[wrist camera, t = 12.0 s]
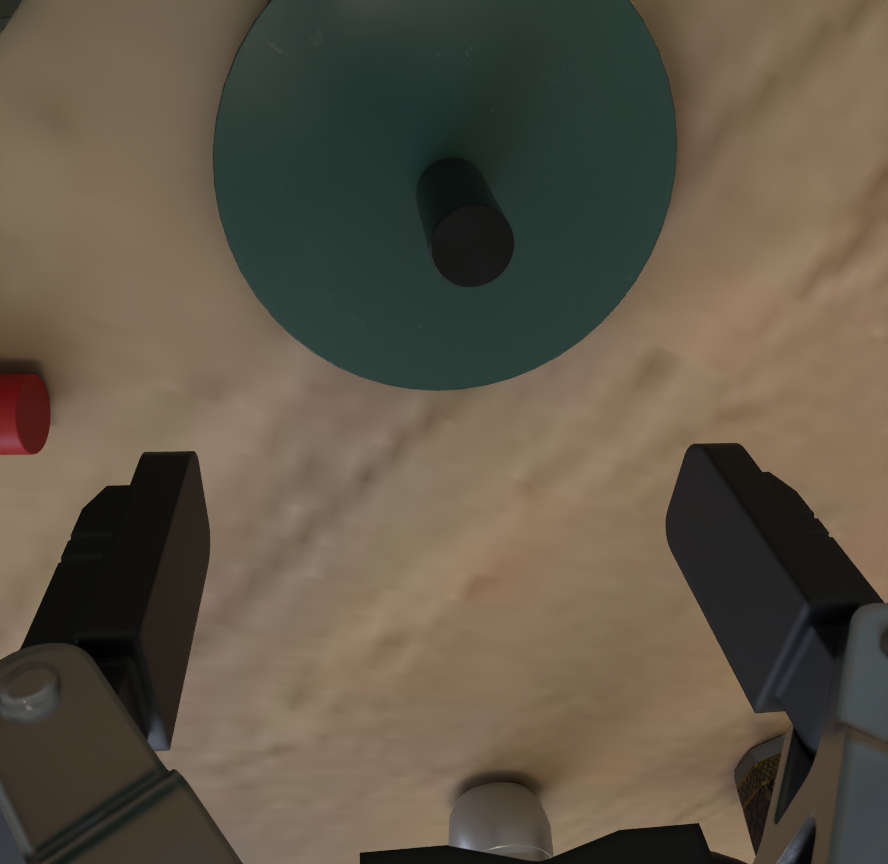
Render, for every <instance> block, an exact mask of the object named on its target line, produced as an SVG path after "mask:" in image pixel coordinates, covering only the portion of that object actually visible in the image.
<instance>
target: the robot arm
mask: <svg viewBox="0 0 888 864" xmlns="http://www.w3.org/2000/svg"><path fill="white" fill-rule="evenodd" d="M666 536H667V541H668V544H669V547H670V550H671V552H672V554H673V556H674V558H675V559H676V561H677V563H678V565H679V567H680V569H681V571H682V573H683V575H684V577H685V579H686V581H687V583H688V585H689V587H690V588H691V590H692V592H693V594H694V596H695V598H696V600H697V602H698V604H699V606H700V608H701V610H702V612H703V614H704V616H705V617H706V619H707V621H708V623H709V625H710V627H711V629H712V631H713V633H714V635H715V637H716V639H717V641H718V643H719V645H720V646H721V648H722V650H723V652H724V654H725V656H726V658H727V660H728V662H729V664H730V666H731V668H732V670H733V672H734V674H735V675H736V677H737V679H738V681H739V683H740V685H741V687H742V689H743V691H744V693H745V695H746V697H747V699H748V701H749V703H750V704H751V706H752V708H753V710H754V712H755V713H765V712H780V711H786V713H787V715H788V717H789V718H790V720H791V722H792V724H791V726H790V728H789V730H788V731H787V733H786V736H785V739H784V744H783V748H782V753H781V757H780V762H779V766H778V771H777V775H776V779H775V784H774V788H773V793H772V797H771V802H770V806H769V810H768V815H767V819H766V824H765V828H764V833H763V836H762V840H761V843H760V846H759V849H758V852H757V855H756V857H755V859H754V862H753V864H888V604H887V603H884V602H883V600H882V599H881V598H880V597H879V595H878V594H877V593H876V592H875V590H874V589H873V588H872V586H871V585H870V584H869V583H868V581H867V580H866V579H865V578H864V576H863V575H862V574H861V573H860V571H859V570H858V569H857V567H856V566H855V565H854V564H853V562H852V561H851V560H850V559H849V557H848V556H847V555H846V554H845V552H844V551H843V550H842V548H841V547H840V546H839V545H838V543H837V542H836V541H835V540H834V538H833V537H829V532H828V531H827V529H826V528H825V527H824V526H823V524H822V523H821V522H820V521H819V519H818V518H817V519H815V518H814V513H813V512H812V510H811V509H810V508H809V507H808V505H807V504H806V503H805V502H804V500H803V499H802V498H801V497H800V495H799V494H798V493H797V491H795V490H794V489H792V488H791V487H790V486H788V485H787V484H785V483H784V482H783V481H781V480H780V479H778V478H777V477H776V476H774V475H773V474H771V473H770V472H762V471H761V470H760V468H759V467H758V466H757V464H756V463H755V462H754V460H753V459H752V458H751V456H750V455H749V454H748V452H747V451H746V450H745V449H744V447H743V446H741V445H740V444H738V443H710V444H692V445H691V446H690V447H689V448H688V449H687V451H686V453H685V456H684V459H683V462H682V465H681V469H680V472H679V475H678V478H677V482H676V485H675V488H674V491H673V494H672V498H671V501H670V504H669V507H668V511H667V515H666ZM209 556H210V528H209V521H208V515H207V509H206V503H205V497H204V491H203V485H202V479H201V472H200V466H199V461H198V457H197V454H196V453H195V452H194V451H178V452H144V453H143V454H142V455H141V458H140V460H139V463H138V465H137V468H136V471H135V473H134V476H133V478H132V481H131V484H130V485H120V486H106V487H105V488H104V489H103V490H102V491H101V492H100V493H99V494H98V495H97V496H96V497H95V498H94V499H92V500H91V501H90V502H89V503H88V504H87V505H86V506H85V507H84V508H83V509H82V511H81V513H80V516H79V518H78V520H77V522H76V525H75V527H74V529H73V531H72V534H71V541H68V543H67V545H66V547H65V550H64V552H63V554H62V556H61V563H58V565H57V568H56V570H55V572H54V574H53V577H52V579H51V581H50V583H49V586H48V588H47V590H46V593H45V595H44V597H43V599H42V602H41V604H40V606H39V608H38V611H37V613H36V615H35V617H34V620H33V622H32V624H31V626H30V629H29V631H28V633H27V635H26V638H25V640H24V642H23V645H22V646H21V648H20V650H19V651H17V652H14V653H12V654H10V655H8V656H6V657H5V658H3V659H1V660H0V864H243V863H242V862H241V860H240V859H239V857H238V856H237V854H236V853H235V851H234V850H233V848H232V847H231V845H230V844H229V843H228V841H227V840H226V838H225V837H224V835H223V834H222V832H221V831H220V829H219V828H218V826H217V825H216V823H215V822H214V820H213V819H212V817H211V816H210V815H209V813H208V812H207V810H206V809H205V807H204V806H203V804H202V803H201V801H200V800H199V798H198V797H197V795H196V794H195V792H194V791H193V789H192V788H191V787H190V785H189V784H188V782H187V781H186V780H185V779H184V777H183V776H182V775H181V774H180V773H179V772H178V771H177V770H175V769H173V770H171V771H168V770H167V769H166V767H165V766H164V765H163V764H162V762H161V761H160V759H159V758H158V756H157V755H156V753H155V752H154V751H165V750H170V746H171V741H172V736H173V732H174V727H175V722H176V717H177V712H178V708H179V703H180V698H181V693H182V688H183V684H184V679H185V674H186V669H187V665H188V660H189V655H190V650H191V645H192V641H193V636H194V631H195V626H196V622H197V617H198V612H199V607H200V602H201V598H202V593H203V588H204V583H205V578H206V574H207V569H208V564H209ZM360 864H747V863H745V862H743V861H740V860H738V859H735V858H732V857H729V856H726V855H722V854H719V853H716V852H712V851H710V850H709V848H708V845H707V843H706V840H705V837H704V835H703V832H702V830H701V827H700V825H699V823H696V824H685V825H673V826H662V827H650V828H639V829H628V830H619V831H616V832H614V833H611V834H609V835H606V836H604V837H601V838H599V839H596V840H594V841H592V842H589V843H587V844H584V845H582V846H579V847H577V848H574V849H572V850H569V851H567V852H564V853H562V854H559V855H557V856H554V857H552V858H550V859H547V860H543V861H529V860H524V859H518V858H513V857H507V856H502V855H497V854H491V853H486V852H481V851H475V850H470V849H465V848H459V847H454V846H448V845H444V846H432V847H421V848H409V849H398V850H386V851H375V852H364V853H360Z"/></svg>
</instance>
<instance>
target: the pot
mask: <svg viewBox="0 0 888 864" xmlns="http://www.w3.org/2000/svg"><path fill="white" fill-rule="evenodd" d="M20 2H21V0H0V32H1V31H2V30H3V29H4V28H5V26H6V25H7V23H8V21H9V20H10V18H11V17H12V15H13V13H14V12H15V10H16V8H17V7H18V5H19V4H20Z"/></svg>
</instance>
